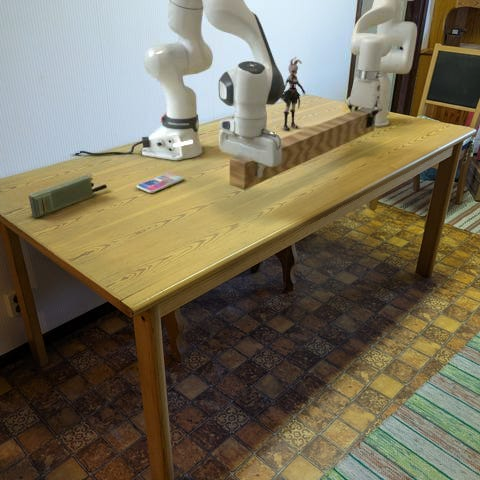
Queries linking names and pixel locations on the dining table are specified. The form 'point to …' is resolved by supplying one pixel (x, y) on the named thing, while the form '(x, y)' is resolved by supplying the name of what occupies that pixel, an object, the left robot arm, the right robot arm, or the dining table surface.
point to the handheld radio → (62, 195)
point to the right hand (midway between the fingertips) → (361, 124)
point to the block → (303, 147)
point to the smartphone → (159, 182)
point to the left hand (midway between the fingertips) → (249, 173)
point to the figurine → (291, 93)
